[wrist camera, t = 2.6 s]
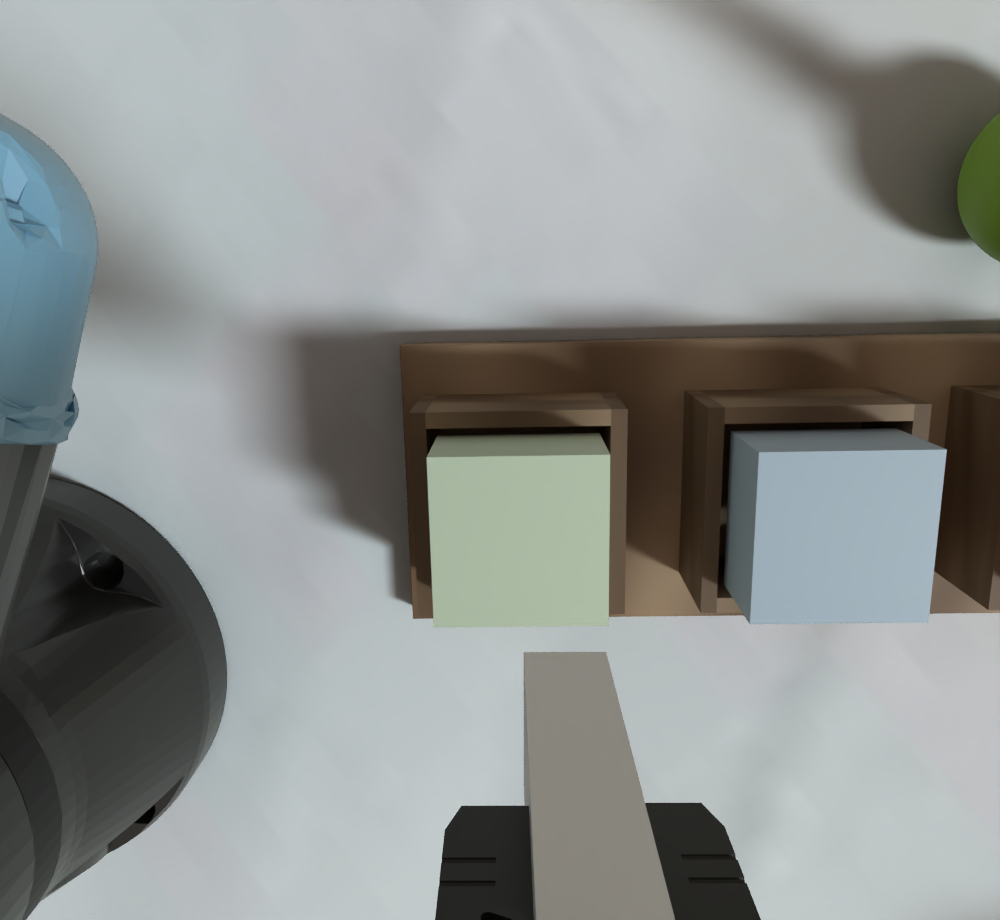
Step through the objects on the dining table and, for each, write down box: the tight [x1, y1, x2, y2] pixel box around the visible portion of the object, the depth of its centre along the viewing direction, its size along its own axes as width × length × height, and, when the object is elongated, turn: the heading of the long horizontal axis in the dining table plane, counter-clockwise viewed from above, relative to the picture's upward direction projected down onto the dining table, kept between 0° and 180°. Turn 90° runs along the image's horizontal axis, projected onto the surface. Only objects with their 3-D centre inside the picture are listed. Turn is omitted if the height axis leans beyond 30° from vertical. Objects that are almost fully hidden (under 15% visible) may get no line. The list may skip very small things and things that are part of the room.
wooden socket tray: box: [400, 332, 1000, 619], centre depth 27 cm, size 26×10×5 cm, turn 91°
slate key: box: [724, 428, 947, 624], centre depth 24 cm, size 5×5×3 cm
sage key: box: [427, 433, 610, 627], centre depth 24 cm, size 5×5×3 cm
